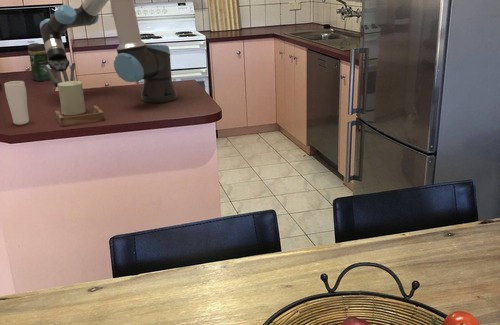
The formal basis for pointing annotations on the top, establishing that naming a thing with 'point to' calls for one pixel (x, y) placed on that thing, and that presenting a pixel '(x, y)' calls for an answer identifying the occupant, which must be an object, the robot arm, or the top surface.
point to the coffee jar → (38, 61)
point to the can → (71, 97)
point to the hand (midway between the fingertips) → (68, 99)
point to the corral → (80, 117)
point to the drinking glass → (17, 101)
